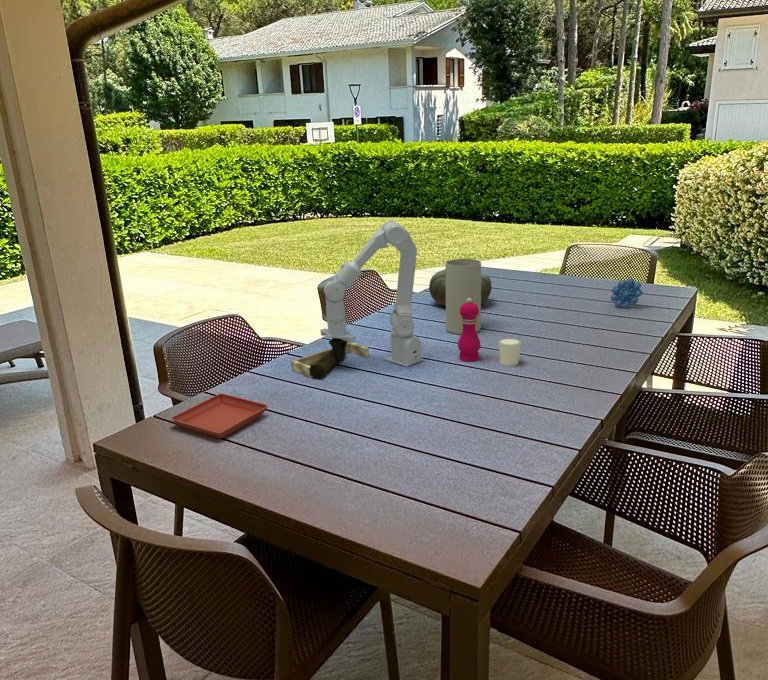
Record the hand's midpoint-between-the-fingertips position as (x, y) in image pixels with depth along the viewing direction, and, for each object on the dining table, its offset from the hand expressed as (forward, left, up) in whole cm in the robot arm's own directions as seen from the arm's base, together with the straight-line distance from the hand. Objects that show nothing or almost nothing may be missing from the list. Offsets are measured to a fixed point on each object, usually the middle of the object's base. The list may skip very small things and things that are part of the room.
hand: (339, 360), depth 205 cm
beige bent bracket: (+4, 0, -2) cm, 4 cm away
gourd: (+18, -80, -2) cm, 82 cm away
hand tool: (+3, +2, -2) cm, 4 cm away
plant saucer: (-8, +47, -3) cm, 48 cm away
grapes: (-35, -117, -2) cm, 122 cm away
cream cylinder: (-38, -37, -2) cm, 53 cm away
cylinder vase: (-5, -54, -2) cm, 54 cm away
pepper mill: (-26, -32, -2) cm, 41 cm away
